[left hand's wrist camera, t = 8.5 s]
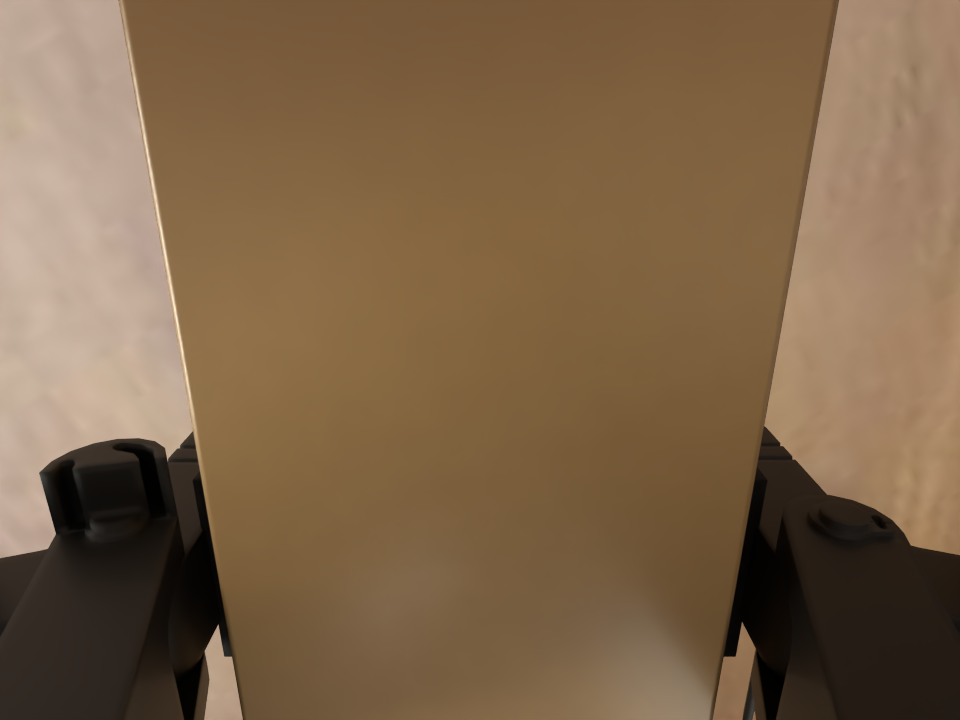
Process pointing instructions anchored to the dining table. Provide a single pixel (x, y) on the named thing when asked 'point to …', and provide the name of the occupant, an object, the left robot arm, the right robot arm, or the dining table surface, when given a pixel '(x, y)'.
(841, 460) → the dining table surface
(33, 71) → the dining table surface
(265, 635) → the bar
